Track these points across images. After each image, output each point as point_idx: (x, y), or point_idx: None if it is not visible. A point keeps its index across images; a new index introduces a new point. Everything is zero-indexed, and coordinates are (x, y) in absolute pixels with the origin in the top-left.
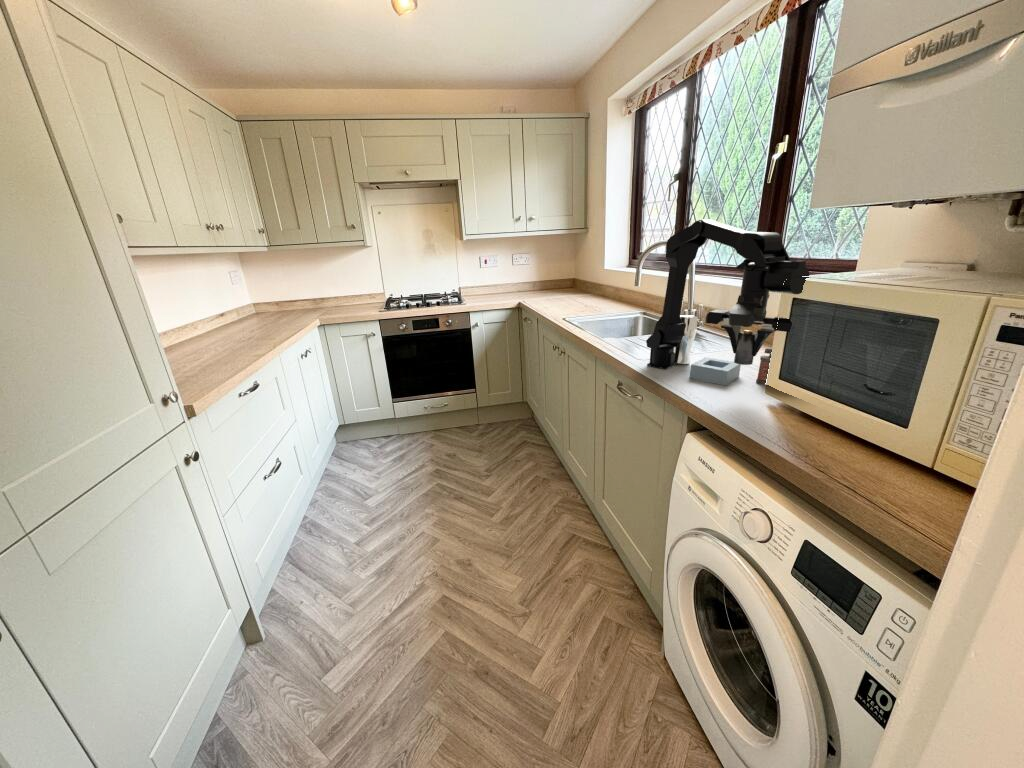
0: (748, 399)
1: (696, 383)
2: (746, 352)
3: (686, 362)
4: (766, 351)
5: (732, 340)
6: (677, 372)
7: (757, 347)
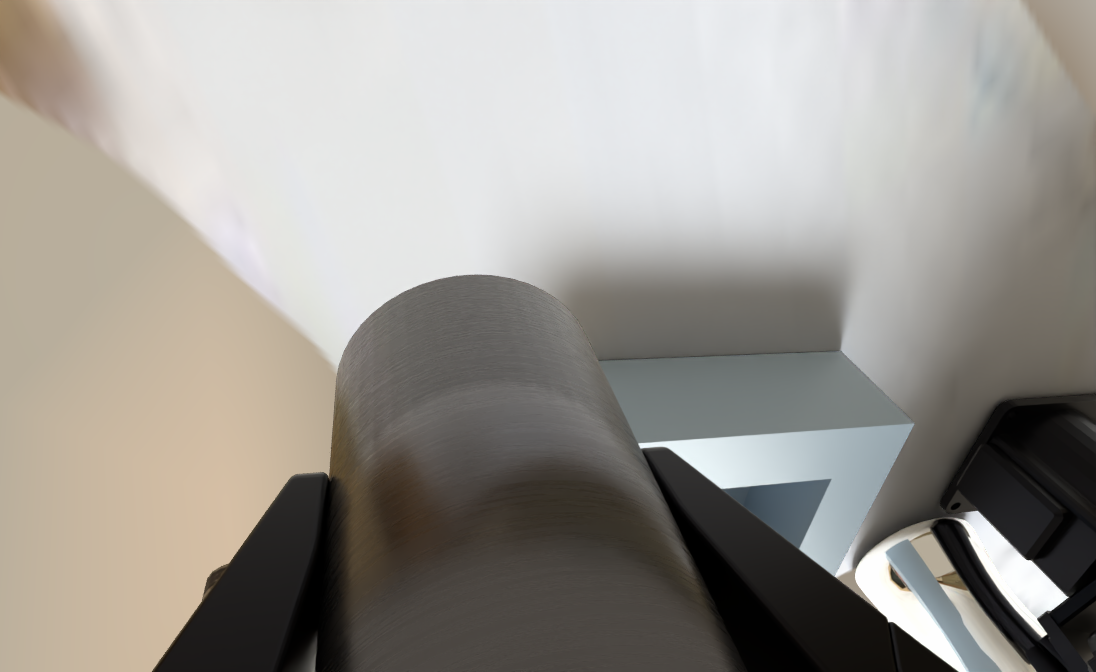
0: (319, 153)
1: (784, 271)
2: (427, 438)
3: (882, 555)
4: None
5: (855, 635)
6: (920, 401)
7: (202, 638)
